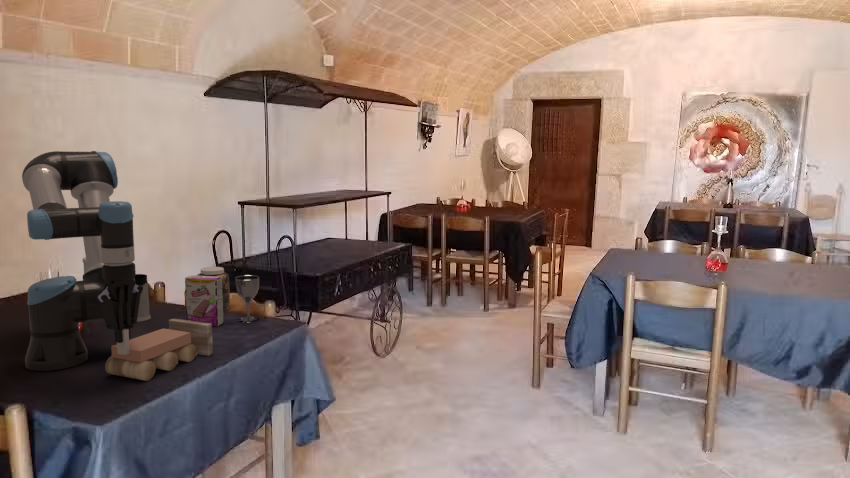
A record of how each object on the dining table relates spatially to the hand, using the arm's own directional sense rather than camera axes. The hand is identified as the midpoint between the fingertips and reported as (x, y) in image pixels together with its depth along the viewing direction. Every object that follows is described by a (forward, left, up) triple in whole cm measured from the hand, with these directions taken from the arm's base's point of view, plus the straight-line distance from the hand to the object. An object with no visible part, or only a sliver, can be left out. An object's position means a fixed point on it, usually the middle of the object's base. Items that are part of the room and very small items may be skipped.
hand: (123, 353), depth 164 cm
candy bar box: (+35, +38, -7) cm, 52 cm away
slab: (+8, +5, -2) cm, 10 cm away
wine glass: (+49, +35, -7) cm, 60 cm away
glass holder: (+17, +61, -7) cm, 64 cm away
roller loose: (+16, +9, -7) cm, 20 cm away
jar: (+45, +57, -7) cm, 73 cm away
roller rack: (+11, +6, -7) cm, 14 cm away
